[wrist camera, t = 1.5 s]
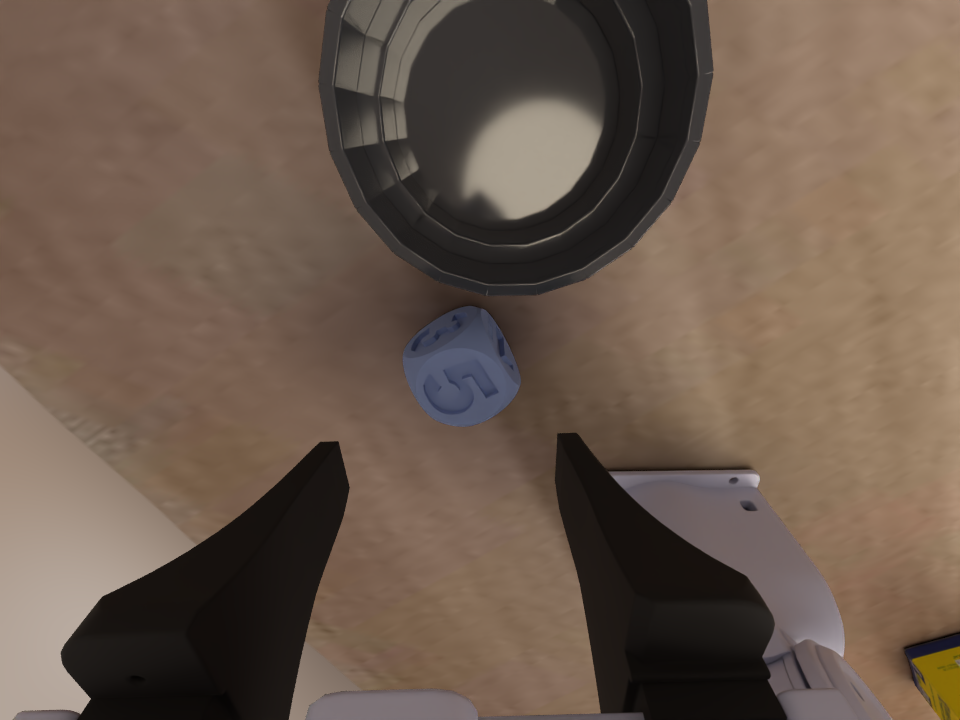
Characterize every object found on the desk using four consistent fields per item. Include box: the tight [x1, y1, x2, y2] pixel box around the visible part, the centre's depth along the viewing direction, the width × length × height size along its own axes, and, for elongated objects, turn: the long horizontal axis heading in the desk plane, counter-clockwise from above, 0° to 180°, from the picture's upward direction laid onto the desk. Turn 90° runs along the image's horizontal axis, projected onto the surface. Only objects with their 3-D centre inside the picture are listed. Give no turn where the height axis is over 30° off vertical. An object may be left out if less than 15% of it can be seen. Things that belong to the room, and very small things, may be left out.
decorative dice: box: [403, 306, 521, 427], centre depth 20 cm, size 4×4×4 cm
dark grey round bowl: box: [318, 0, 713, 296], centre depth 15 cm, size 11×11×6 cm
